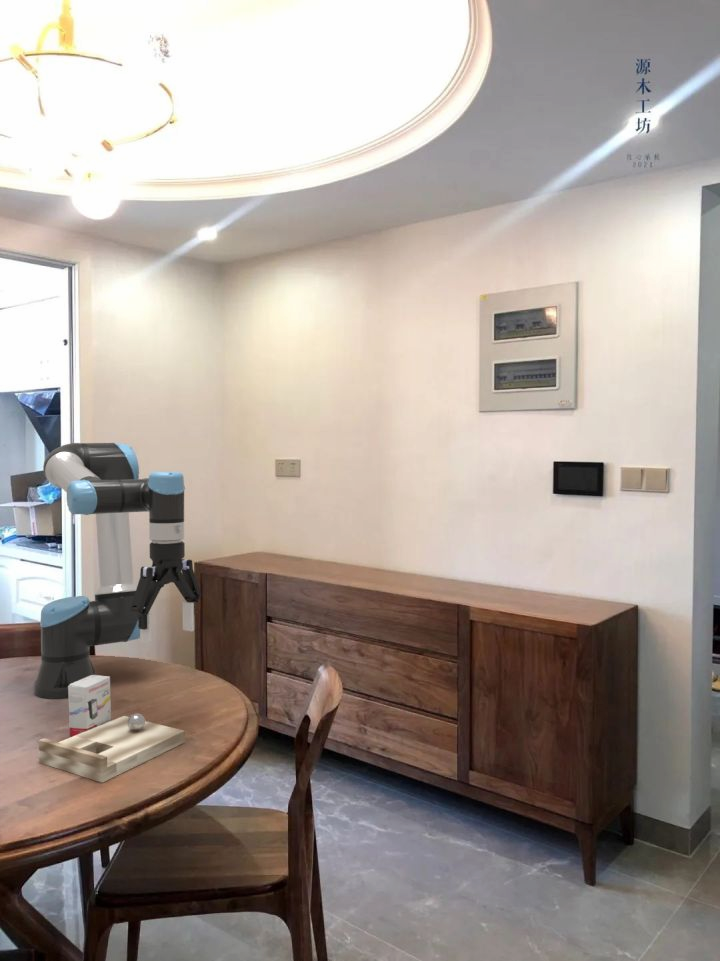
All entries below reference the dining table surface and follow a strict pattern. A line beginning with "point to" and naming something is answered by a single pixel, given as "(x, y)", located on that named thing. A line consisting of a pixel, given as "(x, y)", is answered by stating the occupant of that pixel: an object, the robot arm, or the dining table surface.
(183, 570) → the robot arm
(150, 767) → the dining table surface
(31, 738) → the dining table surface
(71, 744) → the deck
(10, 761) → the dining table surface
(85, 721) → the ink box
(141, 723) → the ball
